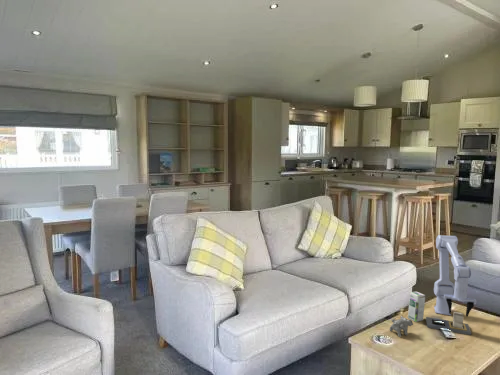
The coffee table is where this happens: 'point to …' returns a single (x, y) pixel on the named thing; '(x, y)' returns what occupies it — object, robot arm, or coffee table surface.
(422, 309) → the syrup box
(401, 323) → the gray elephant figurine
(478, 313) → the coffee table surface
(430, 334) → the coffee table surface
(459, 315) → the peg
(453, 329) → the rail
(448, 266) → the robot arm
